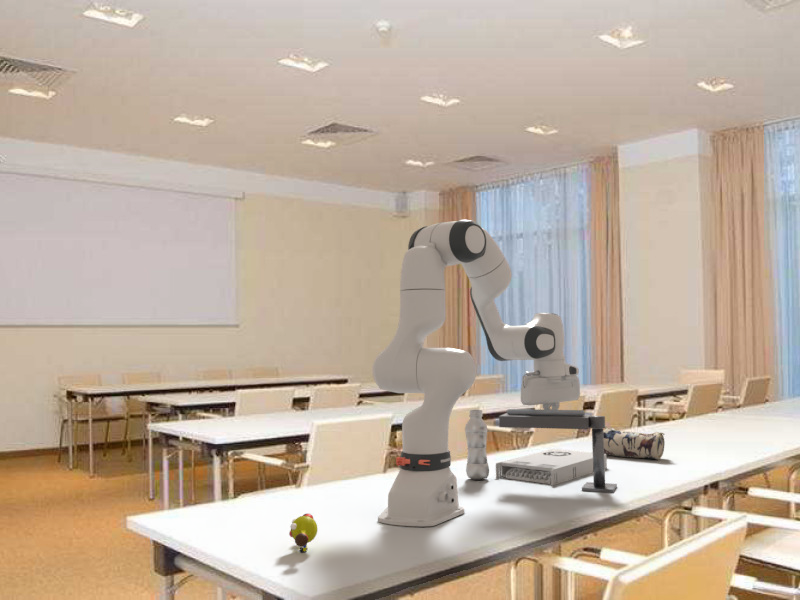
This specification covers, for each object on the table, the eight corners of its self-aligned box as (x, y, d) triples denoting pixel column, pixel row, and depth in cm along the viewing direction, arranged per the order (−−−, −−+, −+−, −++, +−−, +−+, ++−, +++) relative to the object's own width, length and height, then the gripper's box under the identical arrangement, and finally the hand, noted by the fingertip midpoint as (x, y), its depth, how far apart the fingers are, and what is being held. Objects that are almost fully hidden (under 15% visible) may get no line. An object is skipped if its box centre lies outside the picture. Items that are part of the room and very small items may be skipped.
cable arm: (606, 426, 204) (606, 409, 204) (603, 429, 197) (602, 412, 197) (506, 423, 214) (505, 407, 214) (499, 427, 207) (499, 410, 207)
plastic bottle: (488, 481, 213) (486, 411, 214) (464, 481, 214) (463, 411, 215) (490, 477, 219) (488, 409, 220) (467, 477, 221) (465, 409, 222)
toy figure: (293, 538, 156) (293, 506, 157) (320, 538, 157) (319, 505, 157) (285, 565, 138) (284, 528, 139) (315, 564, 139) (314, 527, 139)
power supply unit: (495, 480, 219) (495, 463, 219) (553, 464, 243) (553, 448, 244) (552, 488, 206) (551, 469, 207) (607, 470, 231) (606, 454, 231)
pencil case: (596, 456, 254) (595, 427, 254) (608, 453, 260) (607, 424, 261) (659, 462, 239) (658, 431, 240) (670, 458, 246) (668, 429, 246)
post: (612, 492, 195) (610, 431, 196) (581, 490, 198) (579, 430, 199) (616, 486, 202) (614, 427, 203) (586, 485, 205) (584, 426, 206)
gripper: (530, 372, 203) (532, 423, 203) (582, 368, 214) (584, 416, 214) (514, 371, 208) (516, 421, 208) (566, 367, 220) (568, 414, 219)
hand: (551, 418), depth 211 cm, fingers closed
